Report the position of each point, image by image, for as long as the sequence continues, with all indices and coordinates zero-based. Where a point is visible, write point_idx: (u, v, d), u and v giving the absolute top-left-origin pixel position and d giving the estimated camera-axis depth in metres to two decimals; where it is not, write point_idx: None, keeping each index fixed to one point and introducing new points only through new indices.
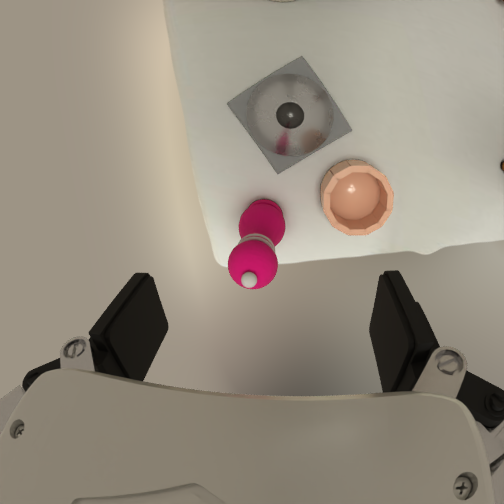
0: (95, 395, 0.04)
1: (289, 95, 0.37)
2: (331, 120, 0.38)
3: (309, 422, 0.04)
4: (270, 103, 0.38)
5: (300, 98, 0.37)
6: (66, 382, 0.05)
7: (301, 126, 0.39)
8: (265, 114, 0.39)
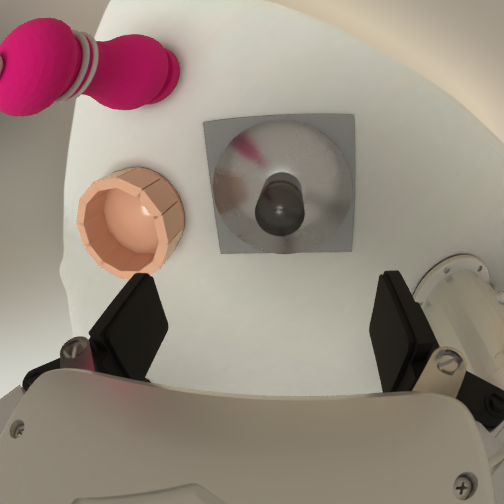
0: (95, 395, 0.04)
1: (310, 206, 0.26)
2: (245, 239, 0.28)
3: (310, 423, 0.04)
4: (315, 174, 0.24)
5: None
6: (66, 382, 0.05)
7: (256, 196, 0.26)
8: (303, 157, 0.24)
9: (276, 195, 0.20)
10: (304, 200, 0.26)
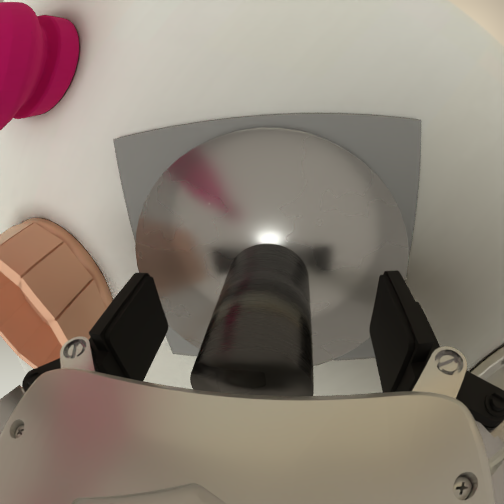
0: (95, 395, 0.04)
1: (323, 307, 0.13)
2: None
3: (310, 423, 0.04)
4: (337, 249, 0.12)
5: None
6: (66, 382, 0.05)
7: (217, 286, 0.13)
8: (314, 214, 0.11)
9: (240, 363, 0.07)
10: (312, 296, 0.13)
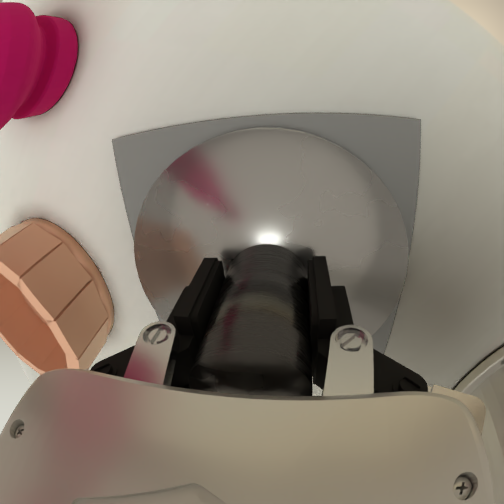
0: (95, 395, 0.04)
1: None
2: None
3: (310, 422, 0.04)
4: (337, 249, 0.12)
5: None
6: (66, 382, 0.05)
7: None
8: (313, 214, 0.11)
9: (238, 365, 0.07)
10: None
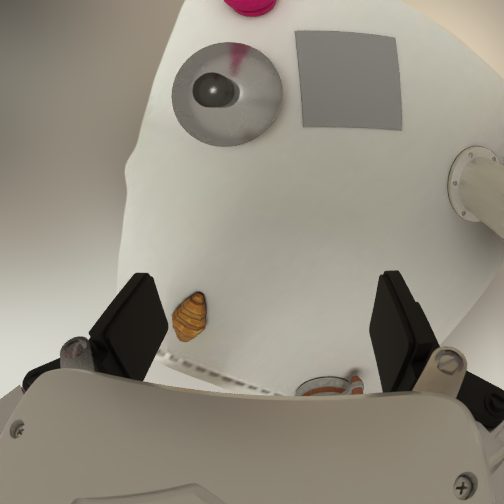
0: (95, 395, 0.04)
1: (247, 103, 0.29)
2: (196, 136, 0.31)
3: (309, 423, 0.04)
4: (249, 78, 0.27)
5: (237, 114, 0.30)
6: (66, 382, 0.05)
7: None
8: (239, 66, 0.27)
9: (207, 76, 0.23)
10: (242, 99, 0.29)
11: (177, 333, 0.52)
